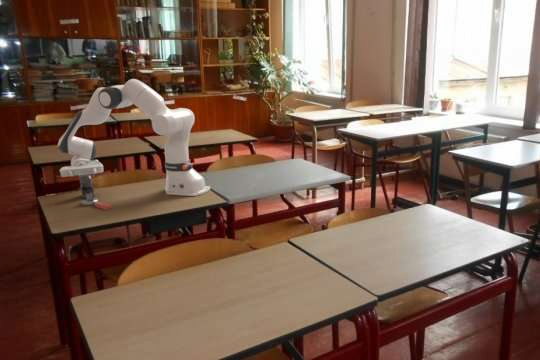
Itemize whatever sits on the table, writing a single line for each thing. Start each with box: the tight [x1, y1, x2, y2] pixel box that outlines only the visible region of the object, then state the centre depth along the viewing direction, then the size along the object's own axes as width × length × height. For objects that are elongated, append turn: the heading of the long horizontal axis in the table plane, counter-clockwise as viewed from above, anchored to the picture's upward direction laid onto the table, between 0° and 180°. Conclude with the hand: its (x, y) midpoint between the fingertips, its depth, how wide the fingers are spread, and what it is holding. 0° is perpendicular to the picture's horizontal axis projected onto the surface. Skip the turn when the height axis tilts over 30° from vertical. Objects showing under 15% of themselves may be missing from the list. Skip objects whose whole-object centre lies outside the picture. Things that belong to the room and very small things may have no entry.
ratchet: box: [81, 193, 113, 211], centre depth 211 cm, size 18×7×4 cm, turn 53°
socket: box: [78, 174, 95, 199], centre depth 223 cm, size 5×5×10 cm
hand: (83, 173), depth 233 cm, fingers open, 8 cm apart
